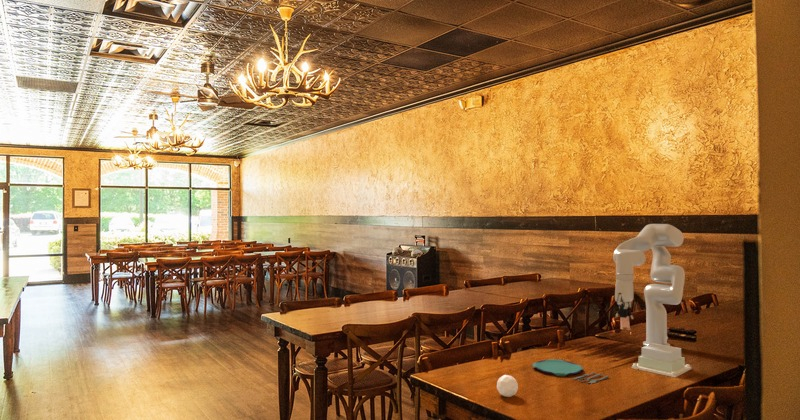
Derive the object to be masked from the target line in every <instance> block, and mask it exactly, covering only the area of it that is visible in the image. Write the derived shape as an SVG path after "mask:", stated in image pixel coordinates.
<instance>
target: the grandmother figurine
mask: <svg viewBox="0 0 800 420" xmlns="http://www.w3.org/2000/svg"><path fill="white" fill-rule="evenodd" d="M622 304H623V305H624V303H622ZM626 309H628V303H627V302H626ZM628 315H630V316H628ZM619 316H620V309H619V310H618V311H617V312H616V314H615V317H616V318H618V317H619ZM630 319H631V320H634V316H633V313H632V312H630V311H629V310H627V317H626V318H624V317H620V330H626V331H631V330H632V329H631V327H630Z"/></svg>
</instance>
